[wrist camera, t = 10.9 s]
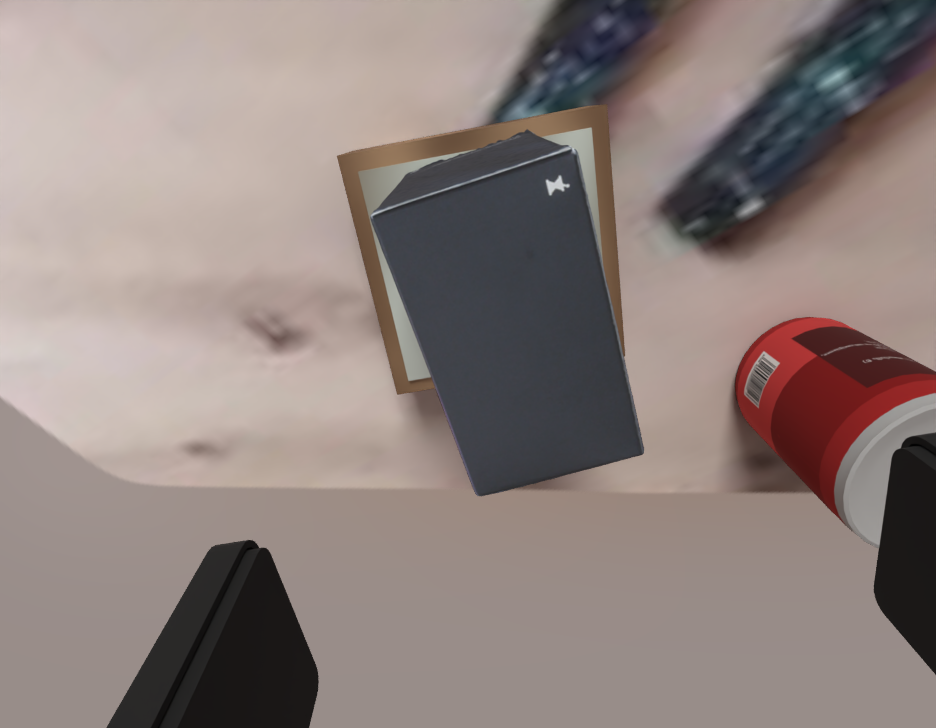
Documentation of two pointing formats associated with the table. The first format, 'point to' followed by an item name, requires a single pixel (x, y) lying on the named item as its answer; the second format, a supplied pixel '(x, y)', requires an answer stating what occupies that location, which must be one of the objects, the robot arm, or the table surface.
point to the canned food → (836, 411)
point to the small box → (512, 310)
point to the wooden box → (387, 165)
